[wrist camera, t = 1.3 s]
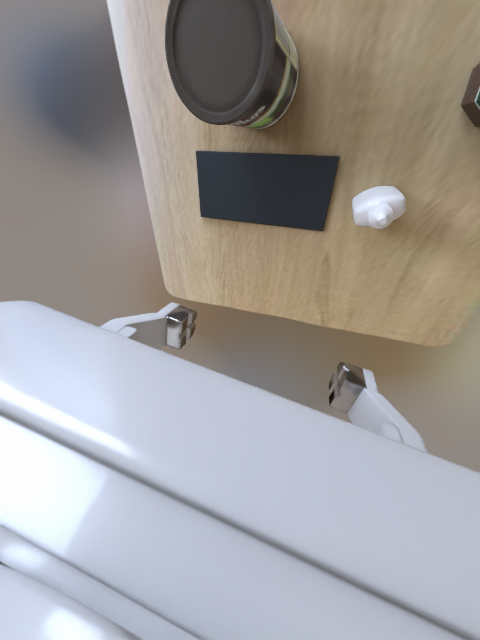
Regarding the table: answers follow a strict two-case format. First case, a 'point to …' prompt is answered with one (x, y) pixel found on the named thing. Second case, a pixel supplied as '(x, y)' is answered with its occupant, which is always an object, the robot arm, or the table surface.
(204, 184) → the mat
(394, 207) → the eye dropper bottle
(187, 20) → the coffee can
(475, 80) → the beer bottle
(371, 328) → the table surface
